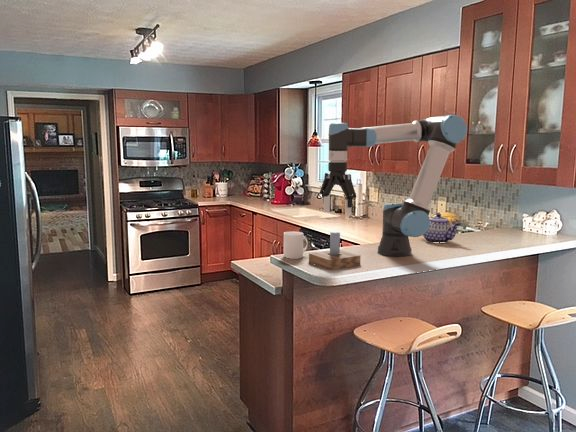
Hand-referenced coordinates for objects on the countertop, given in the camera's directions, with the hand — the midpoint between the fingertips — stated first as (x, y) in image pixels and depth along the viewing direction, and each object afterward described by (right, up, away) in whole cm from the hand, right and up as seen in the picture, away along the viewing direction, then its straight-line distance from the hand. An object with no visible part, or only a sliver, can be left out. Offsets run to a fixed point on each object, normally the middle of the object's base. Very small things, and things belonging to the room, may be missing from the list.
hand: (337, 213), depth 201 cm
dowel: (-1, -20, +2) cm, 20 cm away
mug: (-17, -19, +14) cm, 29 cm away
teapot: (+57, -15, +52) cm, 78 cm away
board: (-1, -21, +2) cm, 21 cm away
